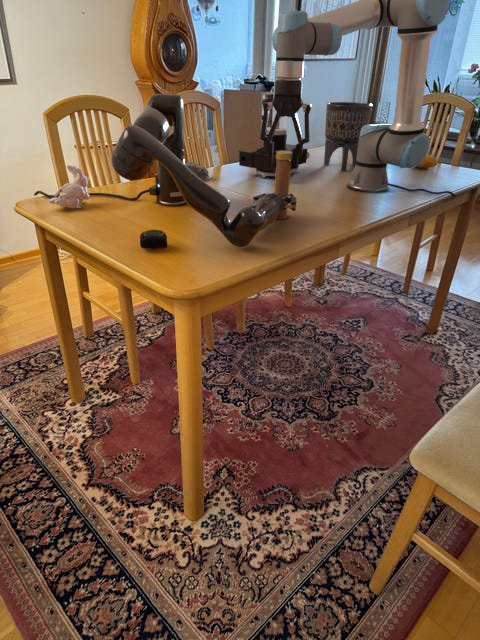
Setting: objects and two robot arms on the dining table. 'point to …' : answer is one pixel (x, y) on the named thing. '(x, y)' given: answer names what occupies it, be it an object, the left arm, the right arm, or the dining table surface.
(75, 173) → the figurine
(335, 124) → the planter
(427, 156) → the toy
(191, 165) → the rock
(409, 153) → the right robot arm
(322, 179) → the dining table surface
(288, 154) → the lid
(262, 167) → the mechanical component
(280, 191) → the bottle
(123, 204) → the dining table surface
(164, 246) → the tape measure
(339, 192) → the dining table surface
